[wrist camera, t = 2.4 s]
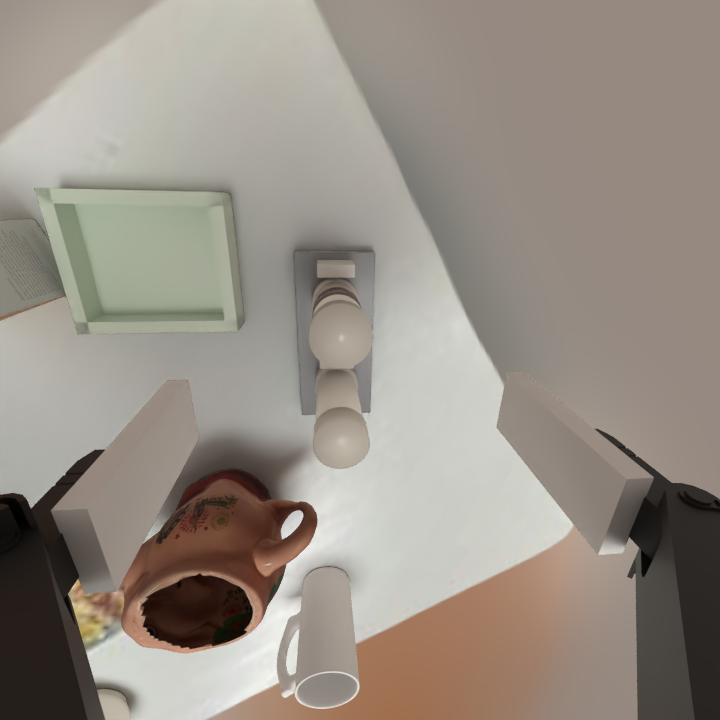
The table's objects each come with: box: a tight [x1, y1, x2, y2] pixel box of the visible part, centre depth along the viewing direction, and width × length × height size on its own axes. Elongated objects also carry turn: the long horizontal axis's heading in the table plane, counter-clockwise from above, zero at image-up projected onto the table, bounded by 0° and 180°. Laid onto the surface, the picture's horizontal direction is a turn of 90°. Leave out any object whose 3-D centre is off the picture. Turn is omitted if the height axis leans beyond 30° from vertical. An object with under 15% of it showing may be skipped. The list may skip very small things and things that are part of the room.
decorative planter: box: [122, 470, 317, 653], centre depth 35 cm, size 20×12×14 cm, turn 122°
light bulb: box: [309, 278, 373, 368], centre depth 28 cm, size 4×4×11 cm
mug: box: [277, 567, 359, 709], centre depth 44 cm, size 10×7×12 cm, turn 117°
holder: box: [293, 251, 375, 469], centre depth 30 cm, size 7×16×12 cm, turn 179°
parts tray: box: [34, 188, 245, 334], centre depth 30 cm, size 13×11×3 cm
